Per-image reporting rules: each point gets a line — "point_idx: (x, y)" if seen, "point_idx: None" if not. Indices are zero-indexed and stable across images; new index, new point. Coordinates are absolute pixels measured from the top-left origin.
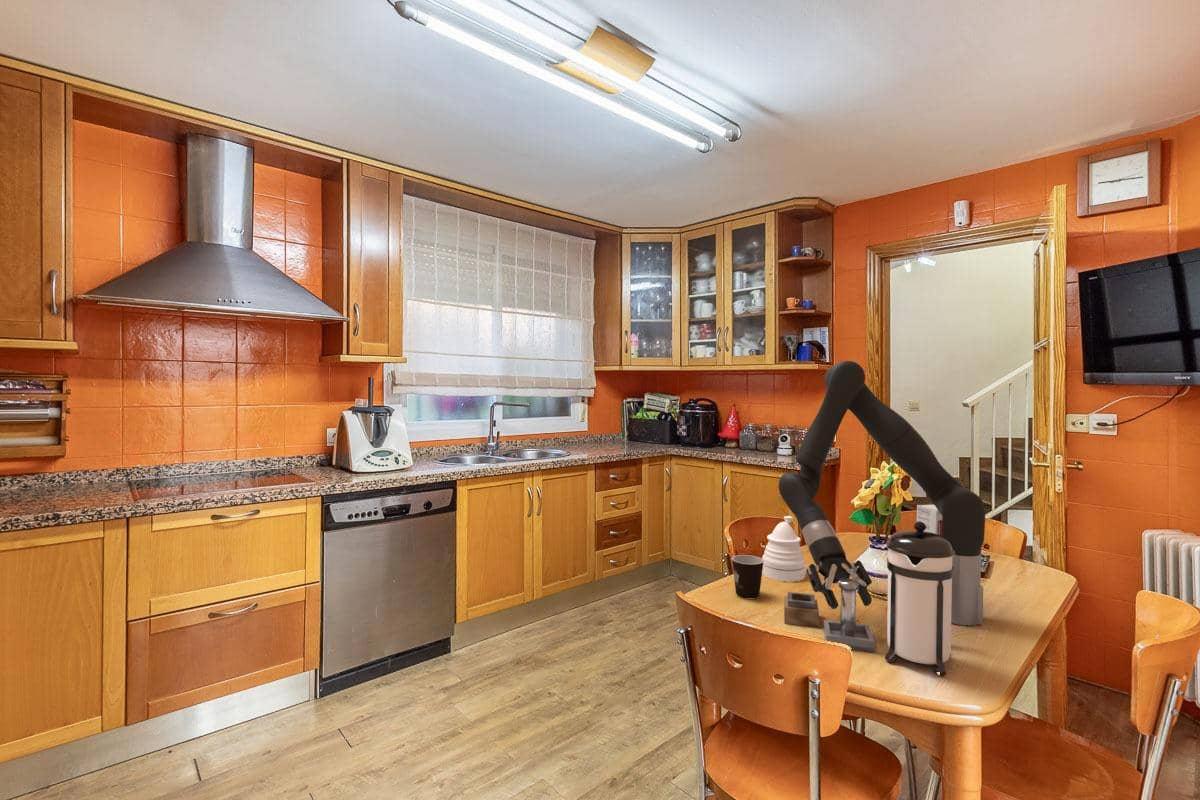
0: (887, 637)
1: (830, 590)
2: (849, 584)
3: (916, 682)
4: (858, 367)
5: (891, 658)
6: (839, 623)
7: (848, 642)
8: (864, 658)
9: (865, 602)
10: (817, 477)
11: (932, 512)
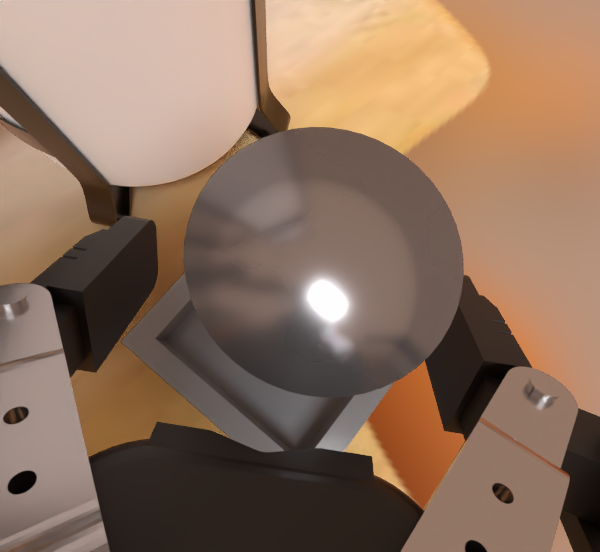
0: (226, 131)
1: (504, 361)
2: (391, 171)
3: (311, 11)
4: None
5: (259, 132)
6: (255, 425)
7: None
8: None
9: (148, 266)
10: None
11: None
